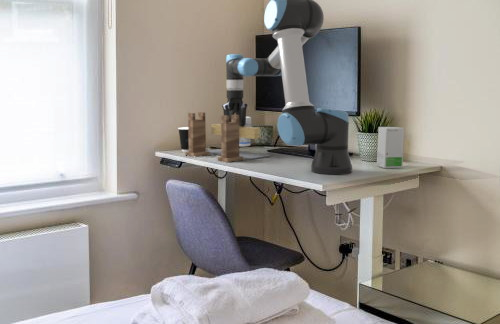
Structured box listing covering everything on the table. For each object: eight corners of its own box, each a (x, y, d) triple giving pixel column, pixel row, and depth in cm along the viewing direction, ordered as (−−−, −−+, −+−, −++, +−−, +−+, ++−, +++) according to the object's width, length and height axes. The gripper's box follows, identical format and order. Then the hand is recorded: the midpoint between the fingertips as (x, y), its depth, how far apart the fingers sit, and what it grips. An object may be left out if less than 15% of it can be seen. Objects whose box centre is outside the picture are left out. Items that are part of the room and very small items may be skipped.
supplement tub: (228, 146, 278) (228, 117, 276) (237, 144, 286) (237, 115, 284) (245, 147, 274) (245, 117, 271) (254, 145, 282) (254, 116, 280)
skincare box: (384, 168, 211) (385, 128, 208) (375, 166, 217) (377, 126, 215) (403, 167, 213) (405, 127, 211) (394, 165, 219) (396, 126, 217)
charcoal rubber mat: (270, 156, 241) (270, 155, 241) (250, 159, 233) (250, 158, 233) (221, 150, 264) (221, 148, 264) (202, 152, 256) (202, 151, 256)
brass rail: (260, 138, 239) (260, 127, 238) (254, 138, 236) (254, 128, 235) (217, 133, 258) (217, 123, 258) (211, 133, 256) (211, 124, 255)
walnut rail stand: (243, 160, 233) (243, 115, 230) (227, 162, 227) (227, 116, 224) (200, 153, 252) (200, 112, 250) (185, 155, 246) (184, 112, 243)
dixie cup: (190, 152, 256) (190, 128, 254) (175, 151, 258) (175, 128, 256) (198, 150, 263) (197, 127, 261) (183, 149, 266) (182, 126, 264)
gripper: (242, 89, 252) (242, 139, 256) (215, 89, 241) (215, 142, 245) (254, 89, 247) (254, 141, 251) (226, 90, 236) (227, 144, 239)
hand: (235, 142), depth 248 cm, fingers closed on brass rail, 3 cm apart
